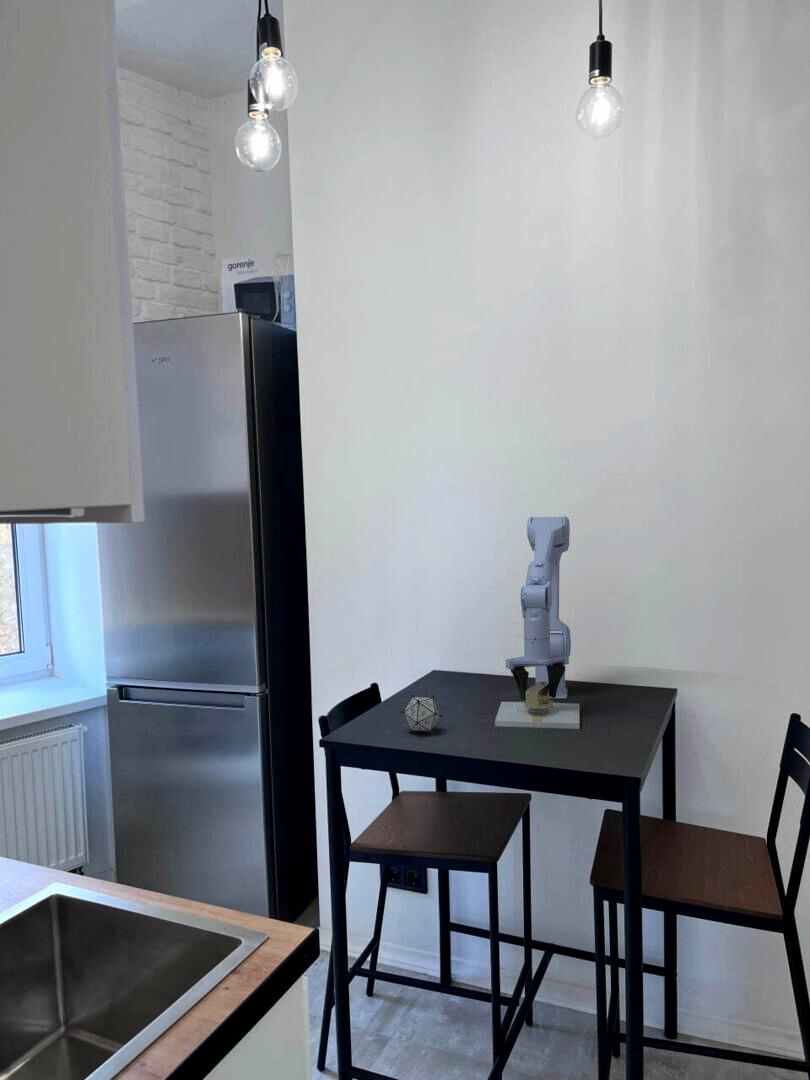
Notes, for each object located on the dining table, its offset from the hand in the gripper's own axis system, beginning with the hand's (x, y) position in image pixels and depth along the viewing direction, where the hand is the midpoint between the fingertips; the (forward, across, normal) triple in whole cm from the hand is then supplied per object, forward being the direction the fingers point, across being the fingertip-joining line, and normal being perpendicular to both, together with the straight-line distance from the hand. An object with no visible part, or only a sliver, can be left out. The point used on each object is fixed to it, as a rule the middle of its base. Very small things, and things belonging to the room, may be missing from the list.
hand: (537, 698), depth 189 cm
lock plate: (+4, 0, 0) cm, 4 cm away
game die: (+5, -28, -1) cm, 28 cm away
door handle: (+2, 0, 0) cm, 2 cm away
